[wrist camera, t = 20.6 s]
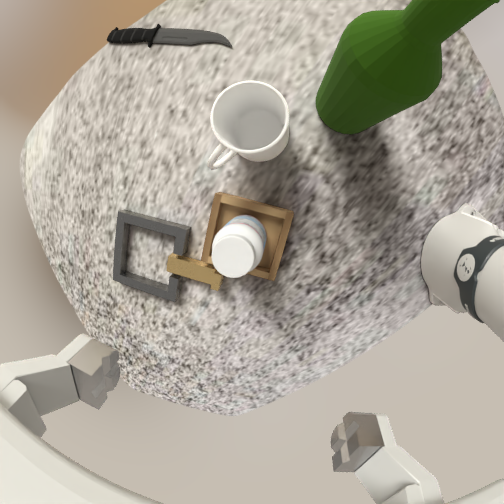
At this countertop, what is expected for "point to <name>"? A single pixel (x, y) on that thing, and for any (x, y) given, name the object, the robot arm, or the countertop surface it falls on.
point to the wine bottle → (389, 61)
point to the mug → (249, 122)
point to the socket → (121, 247)
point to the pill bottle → (239, 246)
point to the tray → (268, 215)
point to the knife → (165, 36)
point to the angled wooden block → (195, 270)
